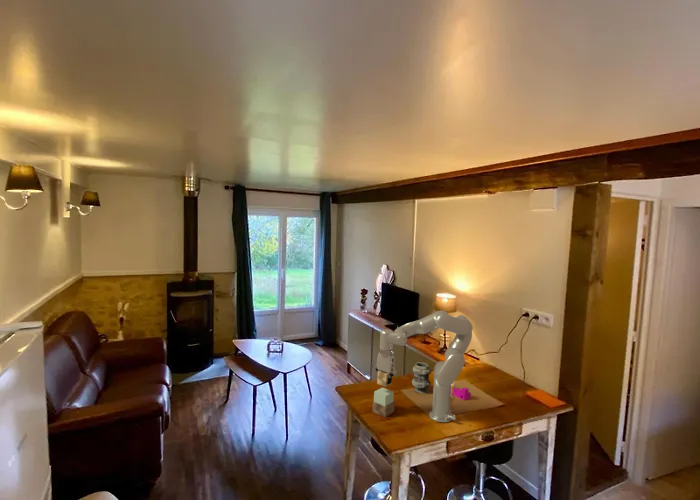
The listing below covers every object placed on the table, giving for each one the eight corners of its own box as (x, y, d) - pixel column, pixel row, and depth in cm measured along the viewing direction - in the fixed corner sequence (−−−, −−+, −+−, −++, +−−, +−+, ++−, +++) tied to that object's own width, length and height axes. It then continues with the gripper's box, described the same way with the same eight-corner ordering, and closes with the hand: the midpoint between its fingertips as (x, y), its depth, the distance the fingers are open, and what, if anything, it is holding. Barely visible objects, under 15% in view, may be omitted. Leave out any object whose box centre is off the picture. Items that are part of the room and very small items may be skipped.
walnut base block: (394, 412, 216) (394, 401, 215) (385, 417, 209) (385, 407, 209) (381, 406, 222) (381, 396, 221) (372, 412, 215) (372, 401, 214)
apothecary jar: (424, 386, 252) (425, 360, 251) (433, 394, 241) (435, 367, 240) (408, 388, 248) (409, 361, 247) (416, 396, 237) (418, 368, 236)
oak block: (391, 383, 215) (392, 371, 214) (385, 386, 210) (386, 374, 210) (383, 380, 219) (383, 369, 218) (377, 383, 214) (377, 371, 214)
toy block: (470, 399, 236) (471, 388, 235) (464, 401, 232) (464, 390, 232) (451, 390, 248) (452, 379, 248) (445, 392, 244) (446, 381, 244)
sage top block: (393, 401, 215) (393, 391, 215) (385, 406, 209) (385, 396, 209) (382, 397, 221) (382, 387, 220) (373, 401, 215) (374, 391, 214)
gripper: (402, 353, 211) (400, 384, 212) (377, 346, 222) (376, 375, 223) (395, 356, 205) (393, 388, 206) (370, 349, 216) (368, 379, 217)
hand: (384, 381), depth 214 cm, fingers closed on oak block, 6 cm apart
